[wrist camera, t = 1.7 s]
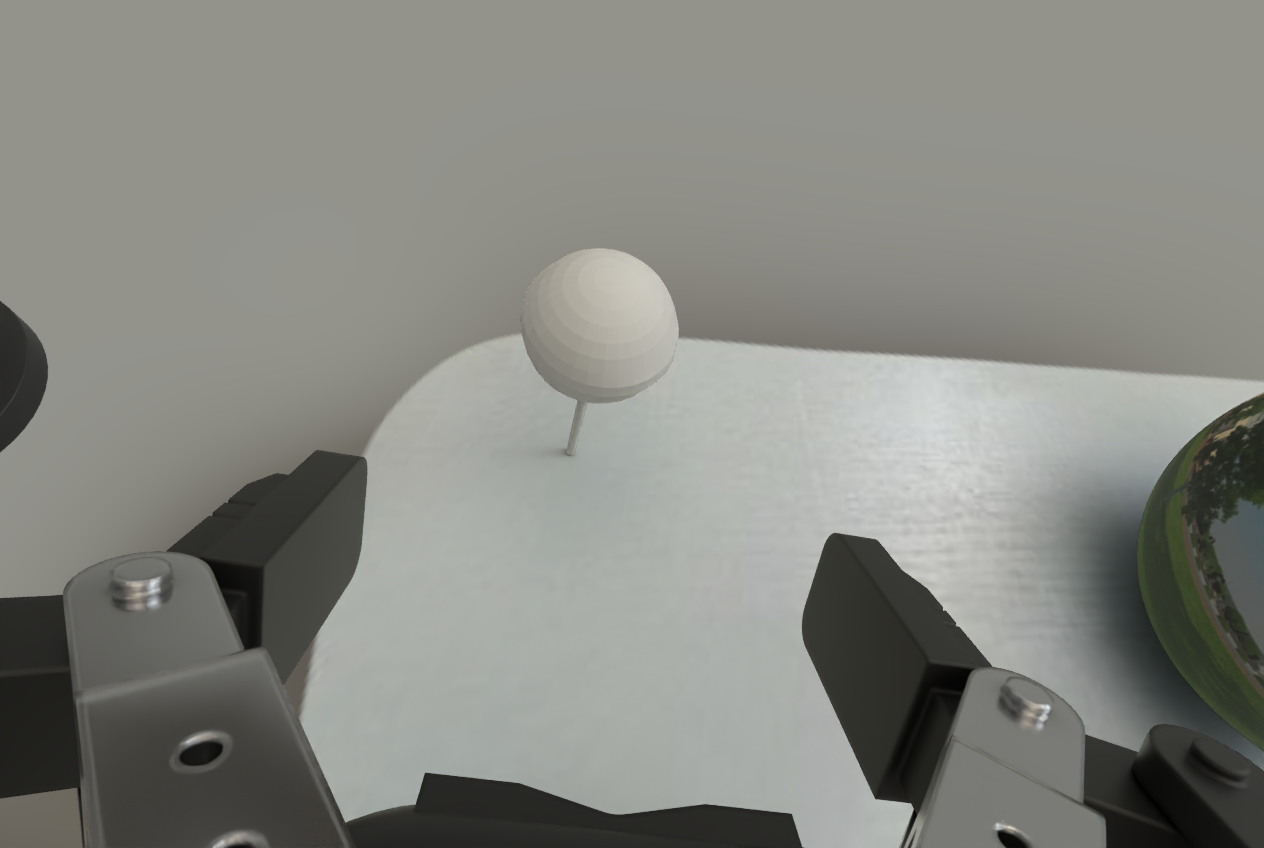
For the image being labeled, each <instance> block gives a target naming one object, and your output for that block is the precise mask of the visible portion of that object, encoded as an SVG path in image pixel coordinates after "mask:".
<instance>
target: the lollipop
mask: <svg viewBox="0 0 1264 848" xmlns="http://www.w3.org/2000/svg"><path fill="white" fill-rule="evenodd" d="M520 319H521V332H522V336H523V339H524V343H525V347H526V350H527V354H528V356H529V357H530V359H531V361H532V363H533V365H534V367H535V369H536V370H537V372H538V373H539V374H540V375H541V377H542V378H543V379H544V380H545V381H546V382H547V383H548V384H549V385H551V386H552V387H553V388H554V389H555V390H557V391H559V392H561V393H562V394H564V395H566V396H568V397H571V398H573V399H576V400H578V401H577V405H576V410H575V414H574V419H573V423H572V428H571V433H570V437H569V442H568V446H567V451H566V452H567V454H568V455H570V456H572V455H574V453H575V450H576V446H577V442H578V438H579V434H580V430H581V426H582V422H583V418H584V414H585V410H586V406H587V402H589V403H612V402H618V401H622V400H625V399H627V398H630V397H632V396H634V395H636V394H637V393H639V392H641V391H643V390H645V389H646V388H648V387H649V386H651V385H652V384H654V383H655V382H657V381H658V380H659V379H660V378H661V377H662V376H663V375H664V374H665V373H666V371H667V370H668V368H669V366H670V364H671V363H672V361H673V358H674V354H675V351H676V347H677V343H678V331H679V327H678V321H677V316H676V312H675V308H674V304H673V302H672V299H671V297H670V294H669V292H668V290H667V288H666V287H665V285H664V283H663V282H662V280H661V279H660V277H659V276H658V275H657V274H656V273H655V272H654V271H653V270H652V269H651V268H650V267H649V266H647V265H646V264H645V263H643V262H642V261H640V260H639V259H637V258H635V257H633V256H631V255H629V254H627V253H623V252H621V251H617V250H612V249H601V248H600V249H599V248H593V249H586V250H580V251H577V252H574V253H570V254H568V255H566V256H565V257H563V258H561V259H559V260H558V261H557V262H555V263H553V264H551V265H550V266H548V267H547V268H545V269H544V270H543V271H542V272H541V273H539V274H538V275H537V276H536V278H535V279H534V280H533V282H532V283H531V284H530V286H529V288H528V290H527V293H526V295H525V297H524V301H523V306H522V312H521V318H520Z"/></svg>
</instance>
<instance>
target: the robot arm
mask: <svg viewBox="0 0 1264 848" xmlns="http://www.w3.org/2000/svg"><path fill="white" fill-rule="evenodd" d="M366 485H367V461H366V459H365V458H364V457H359V456H352V455H346V454H339V453H334V452H327V451H321V450H317V451H315V452H314V453H313V454H312V455H310V457H308V458H307V459H306V460H305V461H304V462H303V463H302V464H301V465H299V466H298V467H297V468H296V469H295V470H294V471H293V472H292V473H291V474H289V475H285V474H278V473H276V474H273V475H271V476H268V477H265V478H263V479H260V480H257V481H255V482H252V483H249V484H247V485H246V486H244V487H243V488H242V489H241V490H240V491H238V492H237V493H236V494H235V495H234V496H233V497H231V498H230V499H229V501H228V503H224V504H223V505H222V506H220V507H219V508H218V509H217V510H215V511H214V512H213V515H212V516H209V517H207V518H206V519H205V520H204V521H202V522H201V523H200V524H198V525H197V526H196V527H195V528H194V529H192V530H191V531H190V532H189V533H188V534H186V535H185V536H184V537H183V538H181V539H180V540H179V541H178V542H177V543H175V544H174V545H173V546H172V547H171V548H170V549H168V550H167V551H166V552H160V551H157V552H141V553H134V554H128V555H122V556H118V557H115V558H111V559H108V560H105V561H102V562H99V563H97V564H95V565H92V566H90V567H88V568H86V569H85V570H83V571H81V572H80V573H78V574H77V575H76V576H74V577H73V578H72V579H71V580H70V581H69V582H68V583H67V585H66V586H65V588H64V592H63V595H56V596H37V597H17V598H16V597H15V598H0V798H7V797H14V796H21V795H27V794H35V793H42V792H49V791H56V790H63V789H70V788H77V800H78V810H79V820H80V830H81V841H82V848H803V847H802V845H801V842H800V839H799V836H798V832H797V829H796V826H795V823H794V820H793V816H792V814H788V813H779V812H770V811H761V810H752V809H743V808H734V807H726V806H717V805H708V804H704V805H696V806H688V807H680V808H672V809H664V810H656V811H648V812H640V813H632V814H624V815H615V814H609V813H605V812H602V811H599V810H596V809H593V808H590V807H587V806H584V805H581V804H578V803H575V802H572V801H570V800H567V799H564V798H561V797H558V796H555V795H552V794H549V793H546V792H543V791H540V790H537V789H534V788H531V787H529V786H526V785H523V784H520V783H512V782H503V781H494V780H485V779H476V778H467V777H459V776H450V775H441V774H432V773H425V775H424V778H423V782H422V785H421V789H420V792H419V795H418V799H417V802H416V805H408V806H401V807H396V808H392V809H387V810H383V811H378V812H375V813H372V814H369V815H366V816H363V817H360V818H357V819H354V820H351V821H348V822H346V823H345V821H344V819H343V817H342V814H341V812H340V810H339V808H338V805H337V803H336V801H335V799H334V797H333V794H332V792H331V790H330V788H329V786H328V783H327V781H326V779H325V777H324V774H323V772H322V770H321V768H320V766H319V763H318V761H317V759H316V757H315V754H314V752H313V750H312V748H311V746H310V743H309V741H308V739H307V737H306V734H305V732H304V730H303V728H302V726H301V723H300V721H299V719H298V717H297V714H296V712H295V710H294V708H293V706H292V703H291V701H290V699H289V697H288V695H287V692H286V690H285V688H284V684H285V682H286V681H287V679H288V678H289V676H290V675H291V673H292V671H293V670H294V668H295V667H296V665H297V663H298V662H299V661H300V659H301V657H302V656H303V654H304V653H305V651H306V650H307V648H308V646H309V645H310V643H311V642H312V640H313V639H314V637H315V636H316V634H317V633H318V631H319V629H320V628H321V626H322V625H323V623H324V622H325V620H326V618H327V617H328V615H329V614H330V612H331V611H332V609H333V608H334V606H335V604H336V603H337V601H338V600H339V598H340V597H341V595H342V594H343V592H344V590H345V589H346V587H347V586H348V584H349V583H350V581H351V579H352V577H353V575H354V572H355V570H356V567H357V564H358V560H359V556H360V551H361V545H362V534H363V522H364V510H365V497H366ZM802 635H803V641H804V644H805V647H806V649H807V651H808V653H809V656H810V658H811V660H812V662H813V664H814V667H815V669H816V671H817V673H818V675H819V677H820V680H821V682H822V684H823V686H824V688H825V690H826V693H827V695H828V697H829V699H830V701H831V704H832V706H833V708H834V710H835V712H836V714H837V717H838V719H839V721H840V723H841V725H842V728H843V730H844V732H845V734H846V736H847V738H848V741H849V743H850V745H851V747H852V749H853V752H854V754H855V756H856V758H857V760H858V762H859V765H860V767H861V769H862V771H863V773H864V776H865V778H866V780H867V782H868V784H869V786H870V789H871V791H872V793H873V795H874V797H875V799H880V800H888V801H897V802H906V803H911V804H912V806H913V808H914V810H913V812H912V815H911V817H910V820H909V822H908V824H907V827H906V829H905V832H904V835H903V837H902V840H901V843H900V846H899V848H1264V771H1263V770H1262V769H1260V768H1259V767H1258V766H1257V765H1255V764H1254V763H1252V762H1251V761H1250V760H1248V759H1247V758H1245V757H1244V756H1242V755H1241V754H1239V753H1238V752H1236V751H1234V750H1233V749H1231V748H1229V747H1228V746H1226V745H1224V744H1222V743H1220V742H1218V741H1216V740H1214V739H1212V738H1210V737H1208V736H1206V735H1203V734H1201V733H1198V732H1196V731H1193V730H1190V729H1187V728H1183V727H1179V726H1175V725H1167V724H1162V725H1156V726H1154V727H1152V728H1151V729H1150V731H1149V733H1148V735H1147V737H1146V739H1145V741H1144V743H1143V744H1142V746H1141V748H1140V750H1139V752H1136V751H1133V750H1130V749H1127V748H1124V747H1121V746H1118V745H1115V744H1112V743H1109V742H1106V741H1103V740H1100V739H1097V738H1094V737H1091V736H1088V735H1085V726H1084V724H1083V721H1082V719H1081V718H1080V716H1079V715H1078V713H1077V712H1076V711H1075V710H1074V709H1073V708H1072V707H1071V706H1070V705H1069V704H1068V703H1067V702H1066V701H1065V700H1064V699H1062V698H1061V697H1060V696H1058V695H1057V694H1056V693H1054V692H1053V691H1051V690H1050V689H1048V688H1047V687H1045V686H1043V685H1042V684H1040V683H1038V682H1036V681H1034V680H1032V679H1030V678H1028V677H1026V676H1023V675H1021V674H1018V673H1015V672H1012V671H1009V670H1005V669H1001V668H995V667H992V665H991V664H990V663H989V662H988V661H987V659H986V658H985V657H984V656H983V655H982V653H981V652H980V651H979V650H978V649H977V647H976V646H975V645H974V644H973V643H972V641H971V640H970V639H969V638H968V637H967V635H966V634H965V633H964V632H963V631H962V629H961V628H960V627H956V622H955V621H954V620H953V619H952V618H951V616H950V615H949V614H948V613H947V612H946V611H943V607H942V606H941V604H940V603H939V602H938V601H937V600H936V598H935V597H934V596H933V595H932V594H931V592H930V591H929V590H928V589H927V588H926V587H924V586H923V585H922V584H920V583H919V582H918V581H916V580H915V579H913V578H912V577H911V576H909V575H908V574H907V573H905V572H904V571H902V570H901V568H900V567H899V566H898V565H897V563H896V562H895V561H894V560H893V559H892V557H891V556H890V555H889V554H888V552H887V551H886V550H885V549H884V547H883V546H882V545H881V544H880V542H878V541H877V540H876V539H870V538H864V537H858V536H851V535H845V534H839V533H833V534H831V535H830V536H829V537H828V539H827V540H826V543H825V545H824V548H823V551H822V554H821V557H820V560H819V563H818V567H817V570H816V573H815V576H814V579H813V582H812V586H811V589H810V592H809V595H808V598H807V602H806V605H805V608H804V612H803V619H802Z"/></svg>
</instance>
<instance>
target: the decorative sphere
mask: <svg viewBox="0 0 1264 848" xmlns="http://www.w3.org/2000/svg"><path fill="white" fill-rule="evenodd" d="M1137 567H1138V577H1139V584H1140V589H1141V594H1142V598H1143V601H1144V605H1145V608H1146V611H1147V614H1148V616H1149V619H1150V622H1151V624H1152V626H1153V629H1154V631H1155V633H1156V635H1157V637H1158V639H1159V641H1160V643H1161V644H1162V646H1163V648H1164V650H1165V651H1166V653H1167V655H1168V656H1169V658H1170V659H1171V661H1172V662H1173V664H1174V665H1175V667H1176V668H1177V669H1178V671H1179V672H1180V673H1181V675H1182V676H1183V677H1184V679H1185V680H1186V681H1187V682H1188V684H1189V685H1190V686H1191V687H1192V688H1193V689H1194V691H1195V692H1196V693H1197V694H1198V695H1199V696H1200V697H1201V698H1202V699H1203V700H1204V701H1205V702H1206V703H1207V704H1208V705H1209V706H1210V707H1211V708H1212V709H1213V710H1214V711H1215V712H1216V713H1217V714H1218V715H1219V716H1220V717H1221V718H1222V719H1224V720H1225V721H1226V722H1227V723H1228V724H1229V725H1231V726H1232V727H1233V728H1234V729H1235V730H1237V731H1238V732H1239V733H1240V734H1242V735H1243V736H1244V737H1246V738H1247V739H1248V740H1250V741H1251V742H1252V743H1254V744H1255V745H1257V746H1258V747H1259V748H1261V749H1262V750H1264V393H1262V394H1260V395H1258V396H1256V397H1254V398H1252V399H1250V400H1248V401H1246V402H1244V403H1242V404H1240V405H1238V406H1237V407H1235V408H1233V409H1231V410H1230V411H1228V412H1226V413H1225V414H1223V415H1222V416H1220V417H1219V418H1217V419H1216V420H1215V421H1213V422H1212V423H1210V424H1209V425H1208V426H1206V427H1205V428H1204V429H1203V430H1202V431H1200V432H1199V433H1198V434H1197V435H1196V436H1194V437H1193V438H1192V439H1191V440H1190V441H1189V442H1188V443H1187V444H1186V445H1185V446H1184V447H1183V448H1182V449H1181V450H1180V451H1179V452H1178V454H1177V455H1176V456H1175V457H1174V458H1173V460H1172V461H1171V462H1170V463H1169V465H1168V466H1167V468H1166V469H1165V470H1164V472H1163V473H1162V475H1161V477H1160V478H1159V480H1158V482H1157V483H1156V485H1155V487H1154V489H1153V491H1152V493H1151V495H1150V497H1149V500H1148V502H1147V505H1146V508H1145V510H1144V514H1143V517H1142V521H1141V525H1140V531H1139V537H1138V547H1137Z"/></svg>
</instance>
